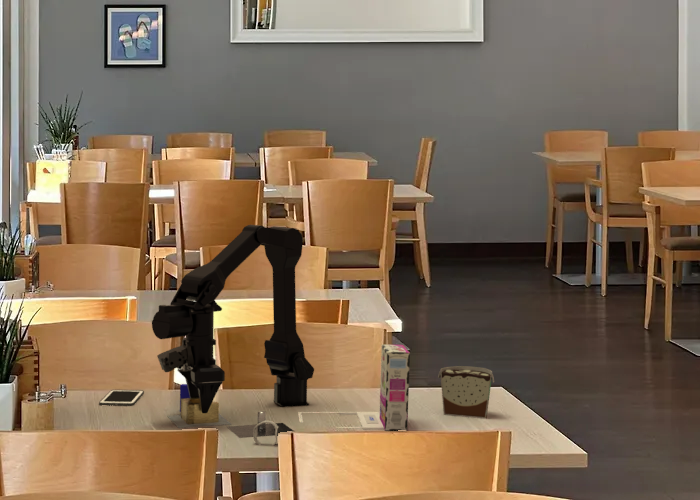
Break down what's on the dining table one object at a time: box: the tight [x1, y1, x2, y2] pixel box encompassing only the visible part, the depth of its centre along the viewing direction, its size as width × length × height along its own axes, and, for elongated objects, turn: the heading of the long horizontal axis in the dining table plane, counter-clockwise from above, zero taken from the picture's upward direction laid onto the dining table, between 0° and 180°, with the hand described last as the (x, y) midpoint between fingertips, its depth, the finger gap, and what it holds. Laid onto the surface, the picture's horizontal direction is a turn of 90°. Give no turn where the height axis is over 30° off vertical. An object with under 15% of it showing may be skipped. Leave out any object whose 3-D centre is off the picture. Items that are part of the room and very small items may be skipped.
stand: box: [225, 410, 294, 439], centre depth 253 cm, size 12×10×4 cm
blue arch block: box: [179, 383, 190, 413], centre depth 276 cm, size 12×4×6 cm, turn 170°
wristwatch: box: [252, 420, 280, 446], centre depth 242 cm, size 3×5×5 cm, turn 81°
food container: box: [437, 365, 495, 419], centre depth 273 cm, size 12×6×10 cm, turn 71°
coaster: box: [167, 413, 233, 429], centre depth 261 cm, size 11×11×1 cm
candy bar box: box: [379, 343, 411, 432], centre depth 260 cm, size 11×5×16 cm, turn 5°
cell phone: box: [98, 389, 145, 407], centre depth 283 cm, size 8×15×1 cm, turn 179°
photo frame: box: [297, 411, 385, 431], centre depth 264 cm, size 15×1×18 cm
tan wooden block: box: [180, 398, 220, 424], centre depth 261 cm, size 6×6×4 cm
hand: (199, 408), depth 260 cm, fingers open, 9 cm apart
